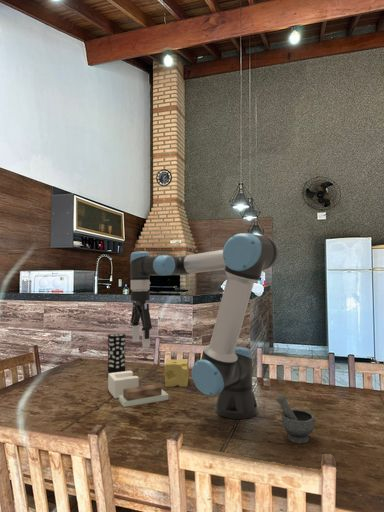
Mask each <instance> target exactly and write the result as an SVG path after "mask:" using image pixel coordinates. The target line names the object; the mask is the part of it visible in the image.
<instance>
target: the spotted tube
mask: <svg viewBox="0 0 384 512" xmlns="http://www.w3.org/2000/svg"><path fill="white" fill-rule="evenodd" d="M123 371H126V334H125V333H121V332H120V333H119V332H118V333H109V334H107V374H108V373H115V372H123Z"/></svg>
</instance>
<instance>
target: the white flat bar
mask: <svg viewBox="0 0 384 512" xmlns="http://www.w3.org/2000/svg"><path fill="white" fill-rule="evenodd" d="M162 401H169V394H168V392H166V391H165V390H164V389H162V395H158V396H153V397H147V398H141V399H136V400H130V401H127V400H126V399H125V398H124V397H123V395H120V396H119V398H118V402H119V403H120V404H121V405H122V407H123V408H126V407H132V406H138V405H145V404H151V403H157V402H158V403H159V402H162Z"/></svg>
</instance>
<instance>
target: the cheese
mask: <svg viewBox="0 0 384 512" xmlns="http://www.w3.org/2000/svg"><path fill="white" fill-rule="evenodd" d="M188 384H189V359H188V358H182V359H181V358H180V359H166V362H165V364H164V386H165V387H166V388H167V387H169V388H170V387H173V388H174V387H181V388H183V387H185V388H188V386H189V385H188Z"/></svg>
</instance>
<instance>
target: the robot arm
mask: <svg viewBox="0 0 384 512" xmlns="http://www.w3.org/2000/svg"><path fill="white" fill-rule="evenodd" d="M278 258H279V248H278V245H277V244H276V242H275V241H274V240H273V239H272V238H270V237H268V236H265V235H259V234H254V233H248V232H246V233H245V232H244V233H236V234H234V235H232V236H231V237H230V238H228V240H227V241H226V242H225V244H224V246H223V249H218V250H212V251H205V252H201V253H195V254H193V253H192V254H186V255H181V256H171V255H166V254H165V255H162V254H161V255H154V256H151V255H150V252H149V251H133V252H131V254H130V261H129V264H130V291H131V292H130V301H132V308H131V316H130V317H131V318H130V324H131V326H132V343H135V342H136V343H138V342H140V326H142V328H141V333H142V335H141V337H142V339H141V340H142V342H141V343H142V345H141V346H142V347H141V348H144V349H146V348H151V341H150V340H151V339H150V338H151V337H150V336H151V335H150V334H151V332H150V331H151V330H152V329H153V327H152V326H153V325H152V319H151V314H150V313H151V312H150V304H149V303H146V302H147V301H149V300H151V294H150V293H151V291H150V285H151V283H152V282H151V281H150V278H151V277H150V276H186V275H191V274H199V273H205V272H206V273H207V272H214V271H223V270H224V272H225V274H226V276H227V278H226V282H225V286H224V289H223V293H222V297H221V300H220V303H219V308H218V312H217V316H216V318H215V319H216V320H215V323H214V327H213V331H212V335H211V339H210V341H209V344H207V345H205V346H204V348H203V351H202V354H201V357H200V359H198V360H196V362H195V363H193V365H192V368H191V379H192V381H193V382H194V386H195V387H196V388H197V390H198V391H200V392H201V393H202V394H204V395H207V396H214V395H217V394H218V395H217V399H216V402H215V412H216V413H217V415H219V416H221V417H224V418H227V419H231V420H232V419H233V420H243V419H250V418H253V417H255V416H256V415H257V414H258V408H259V407H258V402H257V399H256V397H255V394H254V391H253V359H254V358H253V353H252V350H251V349H250V348H247V347H243V346H237V344H238V342H239V337H240V334H241V330H242V327H243V325H244V318H245V316H246V312H247V310H248V304H249V301H250V299H251V298H250V297H251V294H252V292H253V289H254V288H253V287H254V284H256V283H257V282H259V281H260V280H261V276H262V273H263V271H266V270H268V269H270V268H272V267H273V266H274V265H275V264H276V262H277V260H278ZM140 321H141V323H140Z"/></svg>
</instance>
